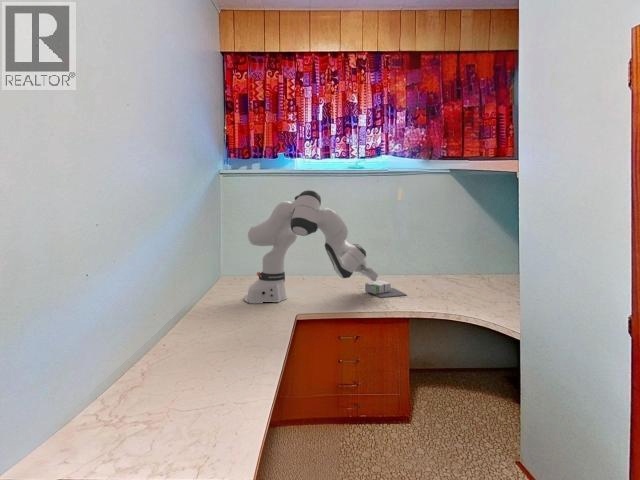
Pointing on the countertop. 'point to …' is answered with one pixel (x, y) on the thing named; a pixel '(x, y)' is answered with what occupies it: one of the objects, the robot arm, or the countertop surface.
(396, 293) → the mat
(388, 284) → the ink box
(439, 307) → the countertop surface
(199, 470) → the countertop surface
